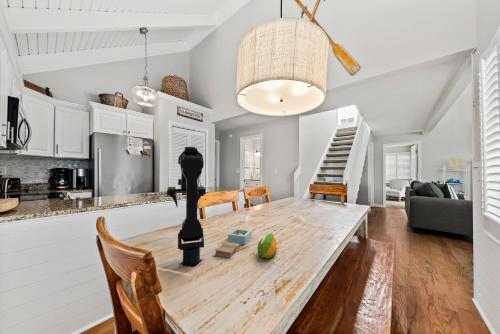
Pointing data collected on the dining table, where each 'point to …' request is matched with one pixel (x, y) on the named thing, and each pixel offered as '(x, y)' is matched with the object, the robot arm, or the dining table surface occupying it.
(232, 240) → the dish
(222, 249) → the board
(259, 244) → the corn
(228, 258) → the mat
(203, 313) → the dining table surface
